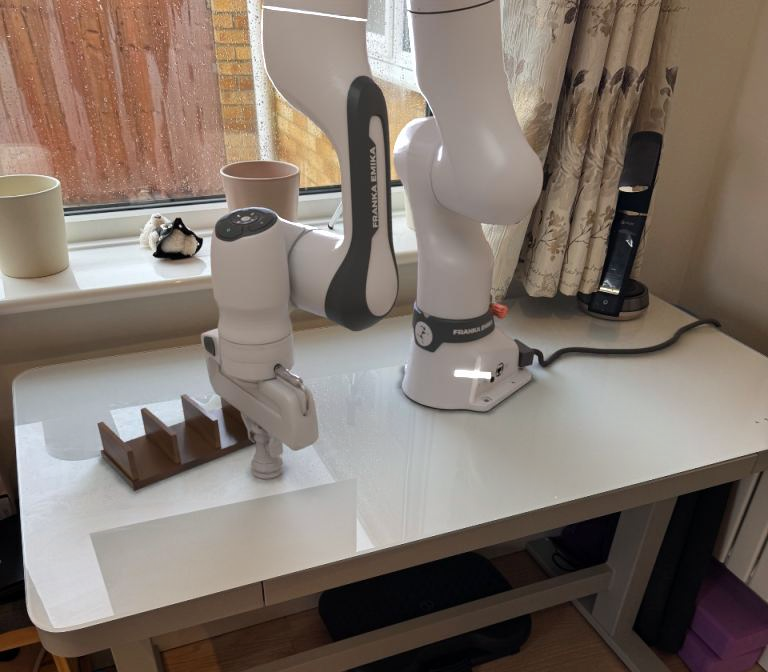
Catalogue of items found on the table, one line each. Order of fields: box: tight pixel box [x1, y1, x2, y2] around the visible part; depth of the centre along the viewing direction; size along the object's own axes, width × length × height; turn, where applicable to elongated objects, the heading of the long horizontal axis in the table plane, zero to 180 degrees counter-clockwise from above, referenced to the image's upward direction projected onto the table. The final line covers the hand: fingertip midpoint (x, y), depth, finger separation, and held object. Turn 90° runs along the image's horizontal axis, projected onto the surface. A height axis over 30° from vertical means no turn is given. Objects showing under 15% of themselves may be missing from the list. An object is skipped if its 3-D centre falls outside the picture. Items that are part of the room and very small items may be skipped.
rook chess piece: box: [250, 422, 285, 480], centre depth 100 cm, size 4×4×8 cm
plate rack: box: [96, 393, 256, 491], centre depth 104 cm, size 20×10×6 cm, turn 131°
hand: (265, 447), depth 100 cm, fingers closed on rook chess piece, 3 cm apart
